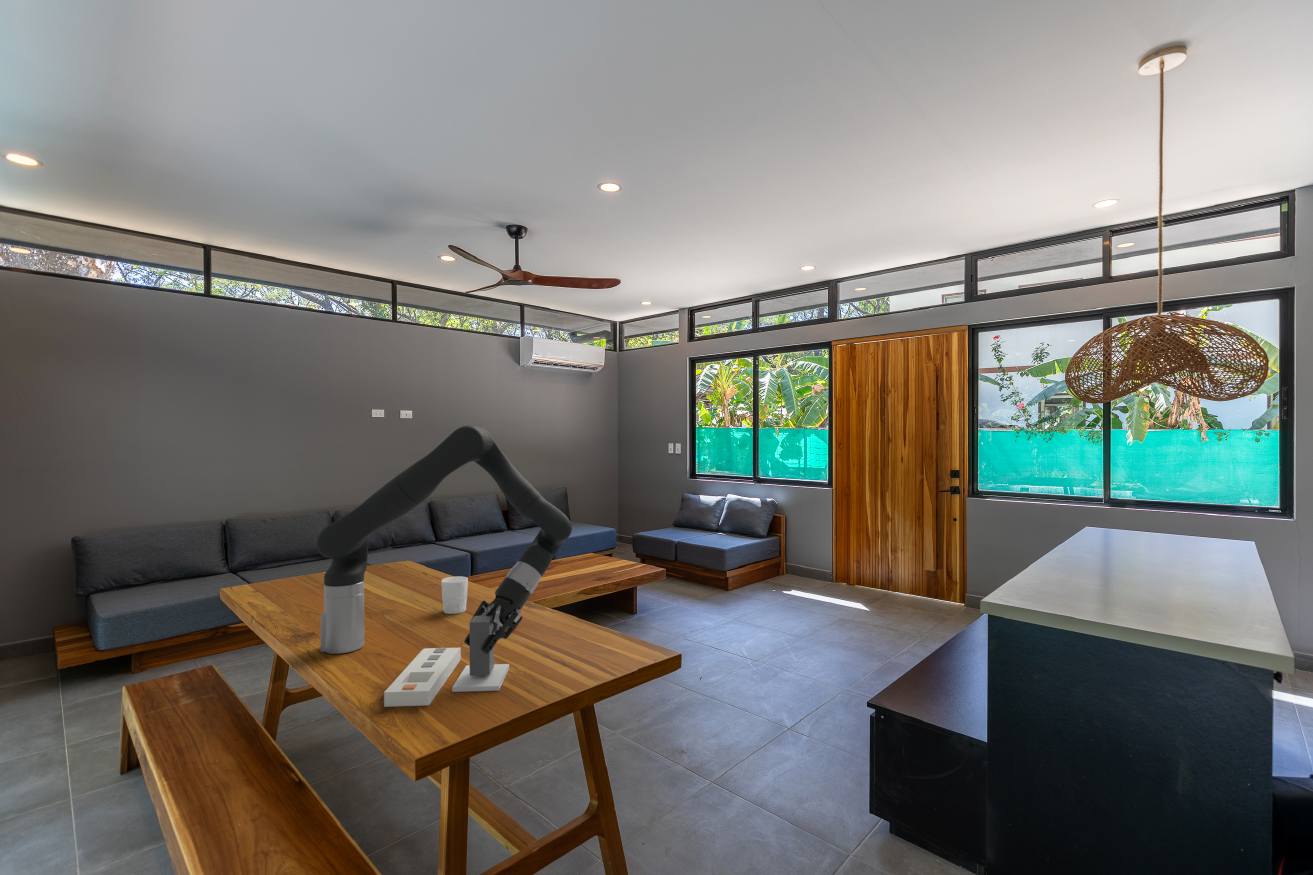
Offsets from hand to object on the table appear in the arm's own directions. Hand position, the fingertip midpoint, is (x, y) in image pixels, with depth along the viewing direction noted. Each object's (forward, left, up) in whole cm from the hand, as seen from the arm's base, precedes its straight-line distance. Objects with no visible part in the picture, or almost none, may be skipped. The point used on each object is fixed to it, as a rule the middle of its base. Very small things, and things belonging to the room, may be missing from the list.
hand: (475, 647), depth 130 cm
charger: (+1, +1, -6) cm, 6 cm away
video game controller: (0, +36, -8) cm, 37 cm away
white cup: (-19, +53, -8) cm, 57 cm away
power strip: (-11, +1, -8) cm, 14 cm away
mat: (+1, +1, -8) cm, 8 cm away
